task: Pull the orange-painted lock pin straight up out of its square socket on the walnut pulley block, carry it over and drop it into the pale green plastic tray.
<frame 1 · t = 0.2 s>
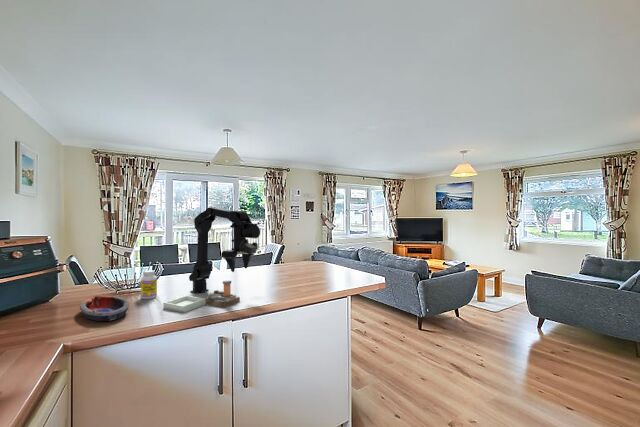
hand: (239, 270, 139), 14 cm above the worktop, fingers open, 9 cm apart
supplement bottle: (149, 297, 143), on the worktop
dish: (104, 313, 121), on the worktop
lock pin: (227, 299, 133), point 2 cm above the worktop, touching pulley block
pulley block: (220, 302, 135), on the worktop
tray: (184, 306, 129), on the worktop
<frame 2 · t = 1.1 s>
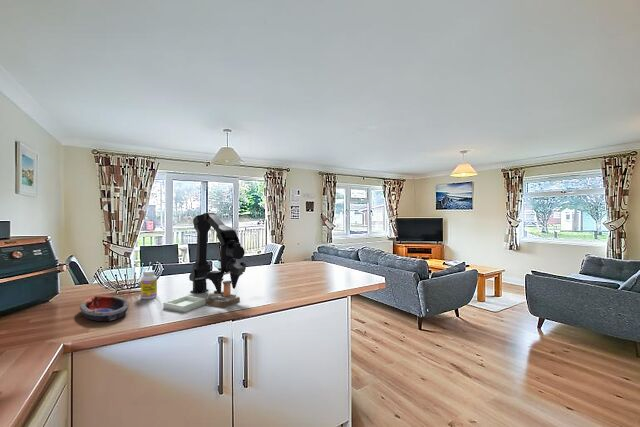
hand: (226, 290, 133), 6 cm above the worktop, fingers open, 9 cm apart
nothing on the worktop moved.
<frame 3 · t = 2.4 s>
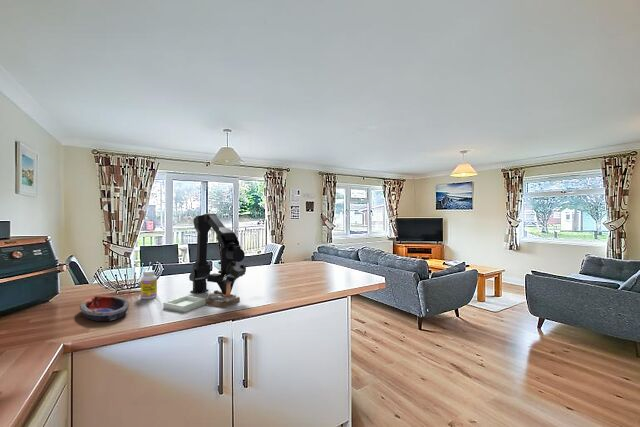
hand: (227, 293, 133), 5 cm above the worktop, fingers closed on lock pin, 3 cm apart
lock pin: (227, 299, 133), point 2 cm above the worktop, touching gripper, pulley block
everything else where it was.
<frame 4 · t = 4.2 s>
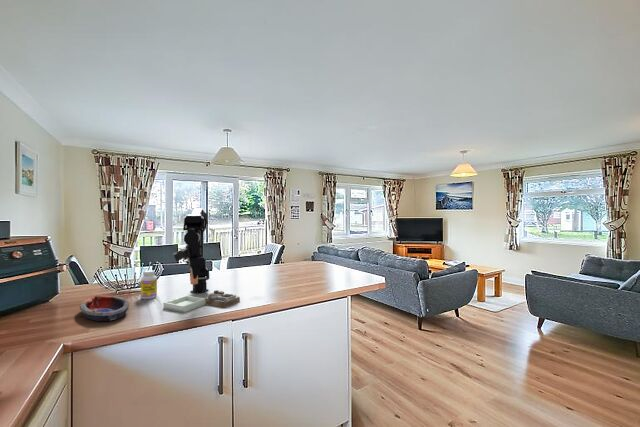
hand: (194, 277, 130), 12 cm above the worktop, fingers closed on lock pin, 3 cm apart
lock pin: (194, 283, 130), point 10 cm above the worktop, touching gripper
everything else where it was.
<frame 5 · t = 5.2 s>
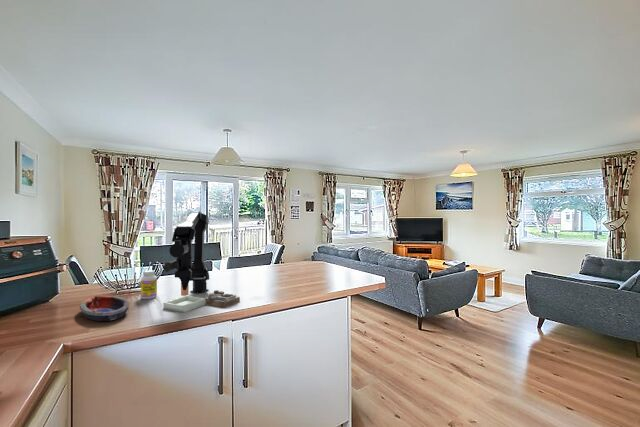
hand: (184, 289, 129), 8 cm above the worktop, fingers closed on lock pin, 3 cm apart
lock pin: (184, 294, 129), point 5 cm above the worktop, touching gripper
everything else where it was.
when the fingers open (5 cm above the worktop, at t = 6.1 s): lock pin drops 2 cm, resting on tray.
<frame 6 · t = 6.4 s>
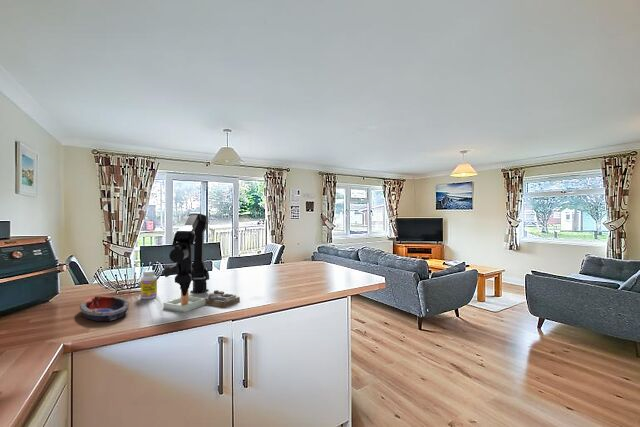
hand: (184, 293, 129), 5 cm above the worktop, fingers open, 6 cm apart
lock pin: (184, 304, 129), point 1 cm above the worktop, touching tray
everything else where it was.
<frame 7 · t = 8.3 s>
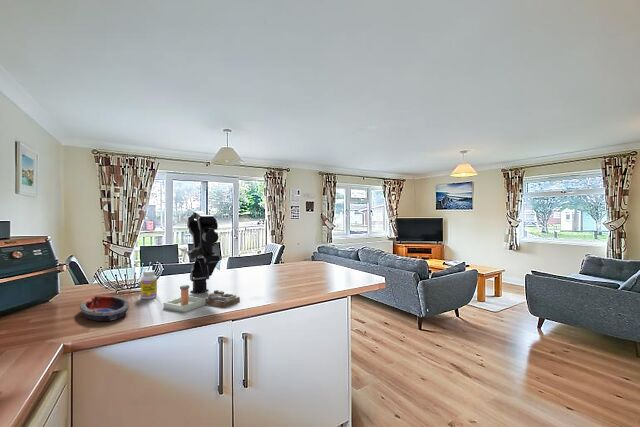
hand: (206, 274, 139), 12 cm above the worktop, fingers open, 9 cm apart
nothing on the worktop moved.
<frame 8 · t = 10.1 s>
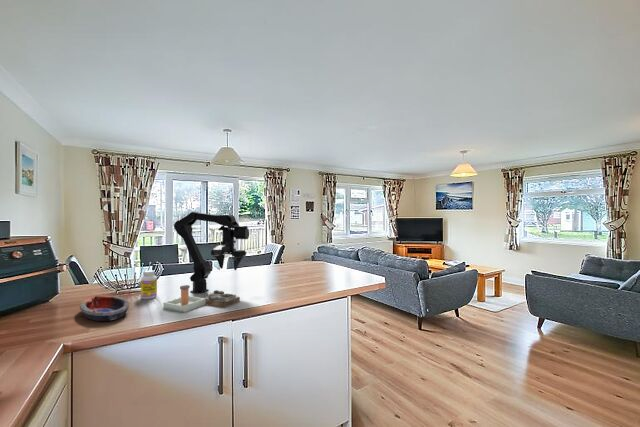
hand: (228, 269, 151), 12 cm above the worktop, fingers open, 9 cm apart
nothing on the worktop moved.
at the end: lock pin inside the target area on the tray (0.1 cm from its centre), point 0.8 cm above the tray's base; the gripper is holding nothing; lock pin inside the target area on the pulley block (14.9 cm from its centre), point 0.8 cm above the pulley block's base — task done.
